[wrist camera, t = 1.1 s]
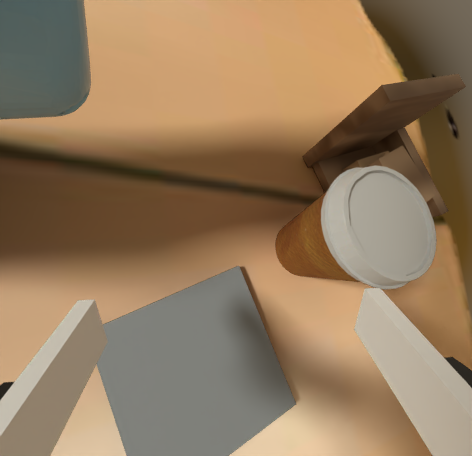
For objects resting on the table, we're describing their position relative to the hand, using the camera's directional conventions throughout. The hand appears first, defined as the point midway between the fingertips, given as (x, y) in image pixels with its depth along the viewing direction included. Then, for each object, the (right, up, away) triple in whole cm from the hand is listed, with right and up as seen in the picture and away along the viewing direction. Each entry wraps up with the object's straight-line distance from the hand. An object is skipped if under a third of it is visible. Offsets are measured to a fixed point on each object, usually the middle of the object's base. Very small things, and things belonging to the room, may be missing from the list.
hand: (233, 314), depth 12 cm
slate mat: (-3, -8, +10) cm, 13 cm away
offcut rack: (+17, +9, +22) cm, 29 cm away
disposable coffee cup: (+7, +2, +16) cm, 18 cm away
